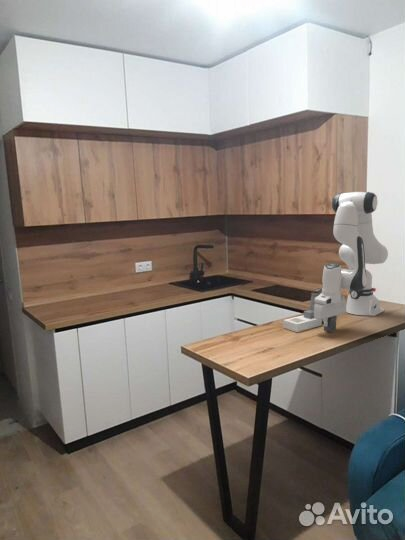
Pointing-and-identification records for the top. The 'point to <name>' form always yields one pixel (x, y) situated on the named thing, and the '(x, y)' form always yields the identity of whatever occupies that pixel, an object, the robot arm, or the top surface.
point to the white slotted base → (302, 322)
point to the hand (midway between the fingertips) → (330, 325)
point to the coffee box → (313, 296)
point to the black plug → (331, 324)
